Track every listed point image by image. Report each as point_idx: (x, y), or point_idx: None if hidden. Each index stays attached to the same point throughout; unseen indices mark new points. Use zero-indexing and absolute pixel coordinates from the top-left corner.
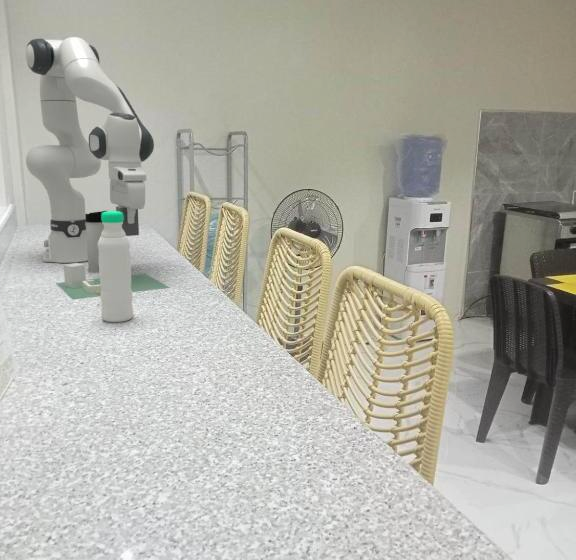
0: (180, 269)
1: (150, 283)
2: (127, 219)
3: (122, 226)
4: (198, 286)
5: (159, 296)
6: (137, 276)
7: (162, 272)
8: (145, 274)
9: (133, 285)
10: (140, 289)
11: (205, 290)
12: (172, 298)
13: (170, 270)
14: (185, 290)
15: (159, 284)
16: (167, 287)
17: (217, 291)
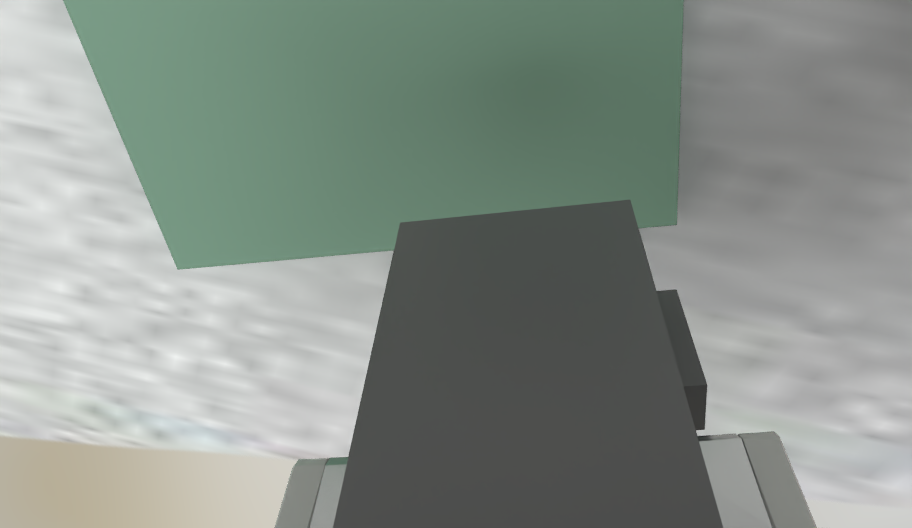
0: (791, 443)
1: (324, 187)
2: (310, 509)
3: (382, 340)
4: (289, 408)
5: (70, 170)
6: (603, 151)
7: (772, 339)
8: (645, 219)
9: (290, 60)
10: (143, 83)
11: (187, 411)
12: (14, 226)
13: (802, 392)
14: (206, 332)
15: (278, 233)
16: (180, 257)
17: (155, 448)
